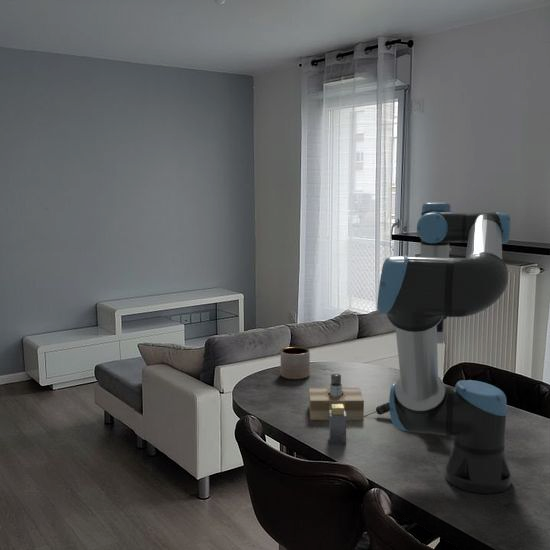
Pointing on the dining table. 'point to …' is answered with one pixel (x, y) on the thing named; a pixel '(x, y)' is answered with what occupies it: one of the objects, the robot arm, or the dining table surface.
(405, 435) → the dining table surface
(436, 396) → the robot arm
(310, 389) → the bore block
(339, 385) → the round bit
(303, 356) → the planter
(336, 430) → the square bit
